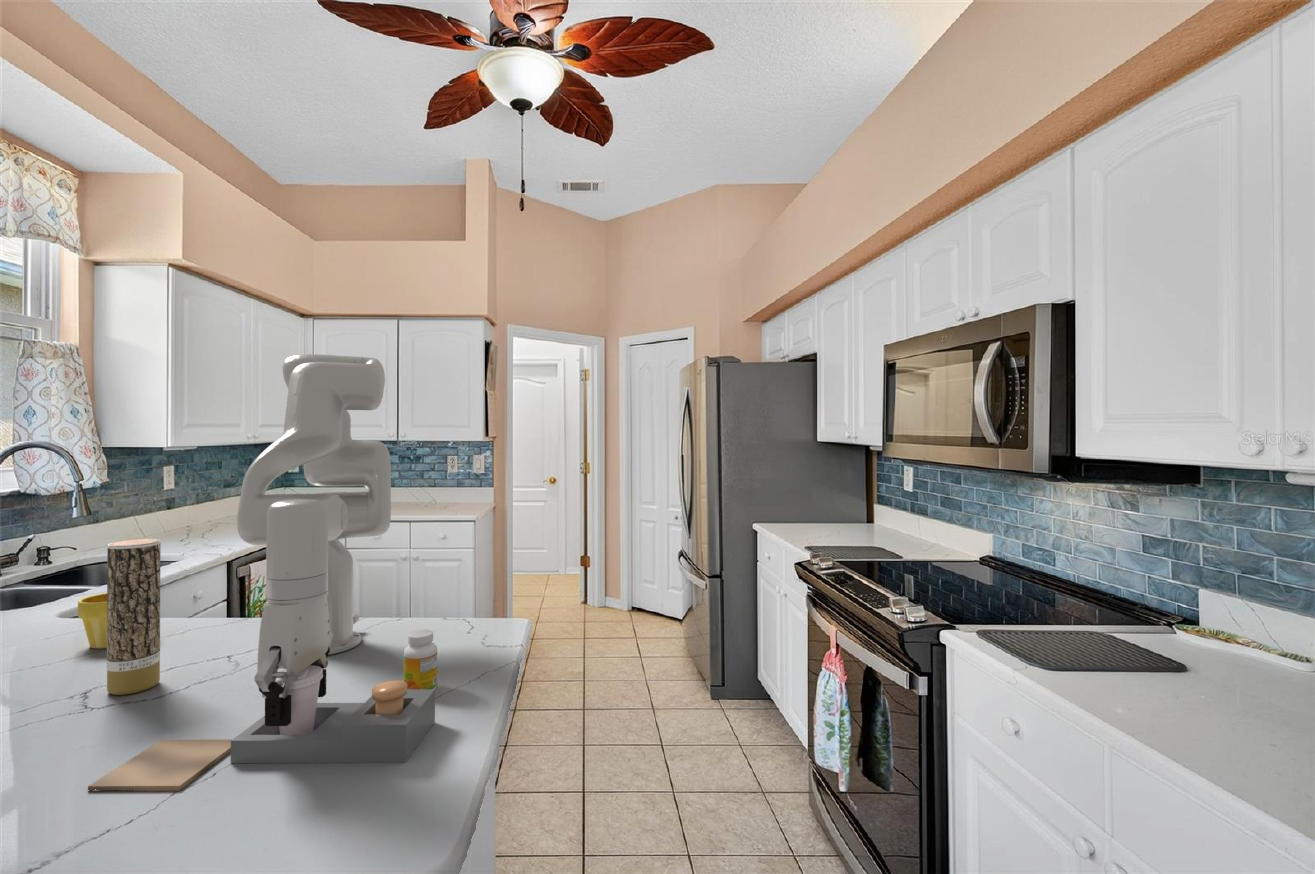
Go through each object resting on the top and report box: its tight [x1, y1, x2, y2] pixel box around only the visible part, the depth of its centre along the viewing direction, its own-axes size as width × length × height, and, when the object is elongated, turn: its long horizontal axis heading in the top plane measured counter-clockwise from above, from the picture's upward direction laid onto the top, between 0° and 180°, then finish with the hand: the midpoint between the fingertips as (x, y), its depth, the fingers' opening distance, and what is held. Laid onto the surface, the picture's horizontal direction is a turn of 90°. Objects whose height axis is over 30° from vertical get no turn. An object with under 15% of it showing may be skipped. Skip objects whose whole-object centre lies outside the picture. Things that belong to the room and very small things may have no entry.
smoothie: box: [275, 665, 324, 735], centre depth 84 cm, size 6×6×14 cm
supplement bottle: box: [402, 629, 438, 690], centre depth 101 cm, size 5×5×10 cm
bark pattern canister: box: [106, 538, 162, 696], centre depth 101 cm, size 7×7×25 cm
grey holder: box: [230, 689, 436, 764], centre depth 84 cm, size 11×23×5 cm, turn 91°
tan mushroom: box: [371, 680, 407, 714], centre depth 84 cm, size 5×5×7 cm
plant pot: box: [77, 592, 107, 650], centre depth 122 cm, size 10×10×10 cm
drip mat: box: [87, 738, 232, 792], centre depth 78 cm, size 11×11×1 cm
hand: (297, 709), depth 84 cm, fingers open, 8 cm apart
